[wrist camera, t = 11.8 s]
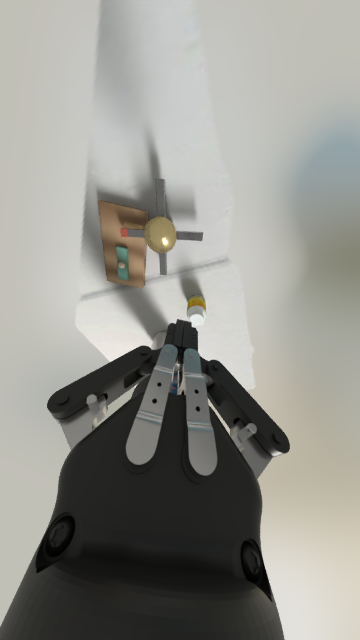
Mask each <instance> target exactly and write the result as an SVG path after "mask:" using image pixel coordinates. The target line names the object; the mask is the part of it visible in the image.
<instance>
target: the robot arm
mask: <svg viewBox="0 0 360 640" xmlns="http://www.w3.org/2000/svg"><path fill="white" fill-rule="evenodd" d="M191 326H192V322H189V321H184V320H179V319H177V322H176V324H174V323H171V324H170V325H169V326H168V329H167V331H162V332H159V333H157V334H156V335H155V337H154V340H153V344H152V347H151V348H150V347H148V346H140V347H138V348H136V349H134V350H132V351H130V352H128V353H126V354H125V355H123V356H121V357H119V358H117V359H115V360H114V361H112V362H110V363H108V364H106V365H104V366H103V367H101V368H99V369H97V370H95V371H93V372H91V373H90V374H88V375H86V376H85V377H82V378H80V379H79V380H77V381H75V382H73V383H71V384H70V385H68V386H66V387H64V388H62V389H60V390H58V391H57V392H55V393H54V394H53V395H52V396H51V397H50V399H49V400H48V404H47V408H48V410H49V411H50V412H51V414H52V416H53V417H54V419H55V420H56V421H57V422H58V423H59V424H60V425H61V427H62V429H63V432H64V434H65V436H66V439H67V441H68V444H69V446H70V449H71V452H70V453H69V455H68V456H67V458H66V460H65V462H64V464H63V466H62V469H61V472H60V476H59V484H58V494H57V500H56V504H55V508H54V511H53V514H52V517H51V520H50V523H49V525H48V528H47V530H46V532H45V534H44V536H43V538H42V540H41V542H40V544H39V546H38V548H37V551H36V552H35V554H34V557H33V558H32V561H31V563H30V565H29V567H28V569H27V571H26V574H25V575H24V578H23V580H22V582H21V584H20V586H19V588H18V590H17V593H16V595H15V597H14V599H13V601H12V603H11V606H10V607H9V610H8V612H7V614H6V616H5V618H4V620H3V622H2V625H1V627H0V640H284V635H283V630H282V625H281V621H280V618H279V613H278V610H277V607H276V603H275V600H274V597H273V594H272V590H271V587H270V583H269V580H268V576H267V573H266V570H265V566H264V562H263V557H262V552H261V542H260V522H261V514H262V495H261V491H260V486H259V483H258V481H257V479H258V477H259V476H260V475H261V473H262V472H263V470H264V469H265V468H266V466H267V465H268V463H269V462H270V461H271V459H272V458H274V457H277V456H279V455H282V454H285V453H287V452H288V451H289V449H290V444H289V440H288V438H287V436H286V435H285V433H284V432H283V431H282V430H281V429H280V428H279V426H277V424H276V423H275V422H274V421H273V420H272V419H271V418H270V417H269V415H268V414H267V413H266V412H265V411H264V410H263V409H262V408H261V407H260V406H259V404H258V403H257V402H256V401H255V400H254V399H253V398H252V397H251V396H250V394H249V393H248V392H247V391H246V390H245V389H244V388H243V387H242V386H241V384H240V383H239V382H238V381H237V380H236V379H235V378H234V377H233V376H232V375H231V373H230V372H229V371H228V370H227V369H226V368H225V367H224V366H223V365H222V364H221V363H220V362H219V361H217V360H210V361H207V360H205V359H203V358H202V357H201V356H200V355H199V353H198V332H197V330H196V328H193V327H191ZM177 359H178V360H177ZM175 363H178V364H180V365H179V370H178V390H177V395H175V394H173V393H171V389H172V381H173V374H174V367H175ZM136 384H138V385H137V386H136V388H135V390H134V392H133V394H132V397H131V399H130V400H129V401H128V402H127V403H125V404H124V405H123V406H122V407H120V408H119V409H118V410H117V411H116V412H114V413H113V414H112V415H111V416H110V417H108V418H107V419H106V420H105V421H104V422H102V423H101V424H100V425H99V426H98V427H96V426H97V425H98V423H99V422H100V421H101V420H102V419H103V418H104V416H105V415H106V413H107V409H108V407H107V406H108V405H109V404H110V403H112V402H113V401H114V400H116V399H117V398H118V397H120V396H121V395H123V394H124V393H125V392H127V391H128V390H130V389H131V388H132V387H134V386H135V385H136ZM207 397H208V398H207ZM208 399H209V400H210V401H211V403H212V404H213V406H214V407H215V408H216V410H217V411H218V413H219V414H220V415H221V417H222V418H223V420H224V421H225V423H226V424H227V425H228V427H229V428H230V435H229V434H228V432H227V431H226V429H225V427H224V426H223V424H222V423H221V421H220V420H219V418H218V417H217V415H216V414H215V412H214V411H213V409H212V408H211V407H210V406H209V405H208ZM230 436H231V437H230Z"/></svg>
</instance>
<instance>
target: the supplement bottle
mask: <svg viewBox="0 0 360 640" xmlns="http://www.w3.org/2000/svg"><path fill="white" fill-rule="evenodd" d="M187 317H188V319H189V322H192V325H193V326H200V325H202V324H203V323H204V319H205V317H206V305H205V300H204V298H203V297H202V296H199V295H194V296H192V297H190V299H189V300H188V307H187Z"/></svg>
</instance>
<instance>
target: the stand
mask: <svg viewBox="0 0 360 640" xmlns="http://www.w3.org/2000/svg"><path fill="white" fill-rule="evenodd" d="M98 204H99V213H100V222H101V231H102V240H103V249H104V258H105V267H106V275H107V281H110V282H115V283H119V284H124V285H129V286H133V287H138V288H143V286H144V285H145V267H146V248H147V242H146V240H145V238H139V237H121V233H120V228H130V229H145V227H146V224H147V223H148V212H147V211H143V210H139V209H135V208H131V207H127V206H123V205H118V204H114V203H110V202H106V201H98Z"/></svg>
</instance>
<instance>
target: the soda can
mask: <svg viewBox="0 0 360 640" xmlns="http://www.w3.org/2000/svg"><path fill="white" fill-rule="evenodd" d="M177 390H178V372H175V373H174V374H173V381H172V389H171V393H173V394H175V395H177Z"/></svg>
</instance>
